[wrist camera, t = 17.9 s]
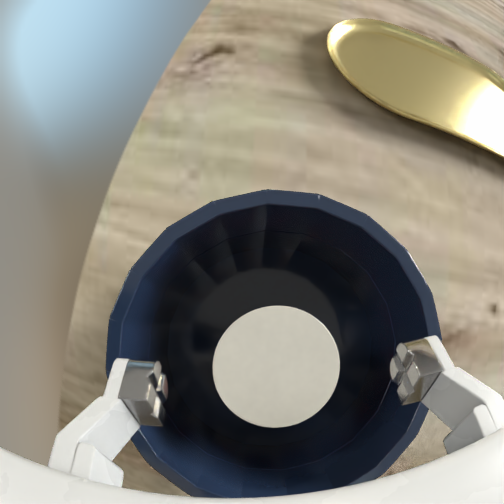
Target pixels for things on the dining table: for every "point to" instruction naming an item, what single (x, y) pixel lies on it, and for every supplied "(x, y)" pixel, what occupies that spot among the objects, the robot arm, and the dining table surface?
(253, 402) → the disc
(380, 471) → the pot
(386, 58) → the serving platter
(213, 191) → the dining table surface
